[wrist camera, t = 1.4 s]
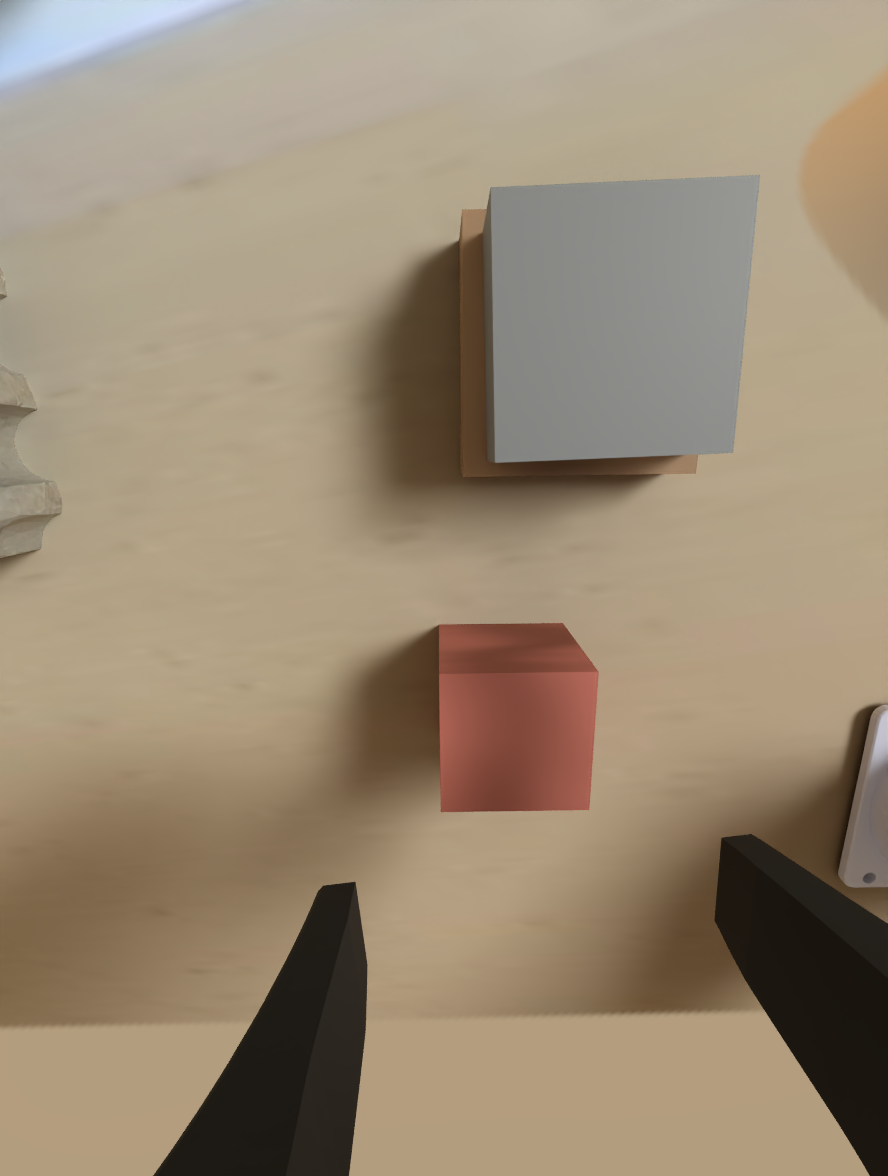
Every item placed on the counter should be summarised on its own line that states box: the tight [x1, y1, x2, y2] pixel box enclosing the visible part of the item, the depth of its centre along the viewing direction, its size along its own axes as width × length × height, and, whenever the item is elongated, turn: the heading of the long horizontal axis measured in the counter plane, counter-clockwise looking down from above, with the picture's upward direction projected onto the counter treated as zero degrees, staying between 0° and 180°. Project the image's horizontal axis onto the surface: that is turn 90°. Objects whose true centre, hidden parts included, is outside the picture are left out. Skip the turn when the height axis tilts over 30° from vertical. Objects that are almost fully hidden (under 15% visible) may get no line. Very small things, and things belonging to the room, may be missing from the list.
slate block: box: [483, 175, 760, 463], centre depth 14 cm, size 6×6×2 cm
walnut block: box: [459, 209, 698, 477], centre depth 16 cm, size 7×7×2 cm
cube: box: [439, 623, 598, 812], centre depth 18 cm, size 4×4×4 cm
